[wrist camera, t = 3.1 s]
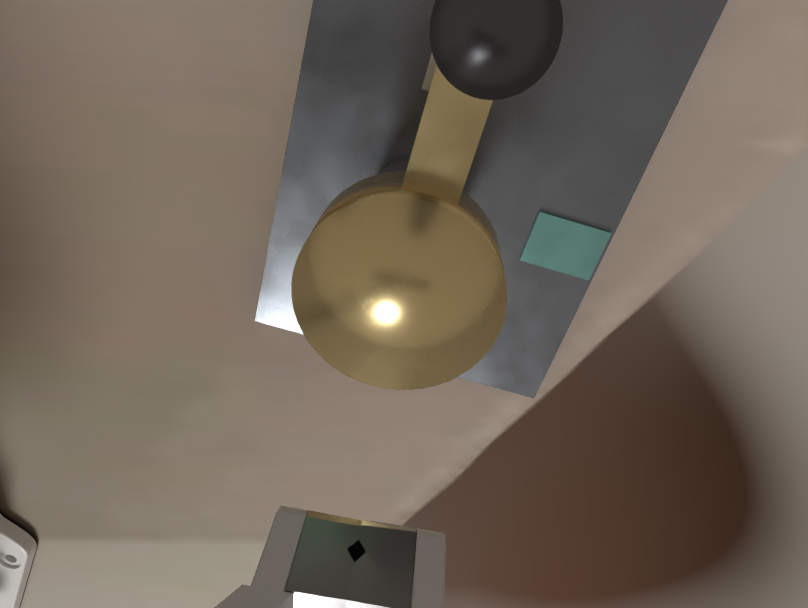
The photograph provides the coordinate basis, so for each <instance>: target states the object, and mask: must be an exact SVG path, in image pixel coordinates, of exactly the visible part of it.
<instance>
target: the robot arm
mask: <svg viewBox="0 0 808 608" xmlns="http://www.w3.org/2000/svg"><path fill="white" fill-rule="evenodd" d="M445 539H446V538H445V535H444V533H441V532H435V531H429V530H422V529H416V528H413V527H407V526H400V525H393V524H387V523H380V522H374V521H367V520H362V521H361V520H356V519H351V518H346V517H340V516H335V515H330V514H325V513H320V512H314V511H308V510H303V509H297V508H292V507H286V506H281V507H280V508H279V510H278V511H277V513H276V516H275V518H274V521H273V524H272V527H271V530H270V533H269V536H268V538H267V541H266V544H265V547H264V550H263V553H262V555H261V558H260V561H259V564H258V567H257V570H256V573H255V575H254V578H253V581H252V584H251V586H247V585H242V586H240V587H239V588H238V589H237V590H235V591H234V592H233V593H232V594H231V595H229V596H228V597H227V598H226V599H225V600H223V601H222V602H221V603H220V604H219V605H217V606H216V607H215V608H444V588H445V586H444V585H445V544H446V543H445V542H446V540H445ZM36 548H37V545H36V542H35V540H34V539H33V538H32V537H31V536H30V535H29V534H28V533H27V532H25V531H24V530H23V529H21V528H20V527H18V526H17V525H15V524H14V523H12V522H11V521H9V520H7V519H6V518H4V517H3V516H2V515H1V514H0V608H19V607H20V603H21V600H22V596H23V593H24V589H25V586H26V583H27V579H28V576H29V572H30V569H31V565H32V562H33V558H34V555H35V551H36Z"/></svg>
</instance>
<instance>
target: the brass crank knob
mask: <svg viewBox="0 0 808 608" xmlns="http://www.w3.org/2000/svg"><path fill="white" fill-rule="evenodd" d="M562 33H563V12H562V6H561V2H560V0H436V1H435V4H434V7H433V10H432V14H431V18H430V27H429V37H430V45H431V50H432V54H433V57H434V60H435V62H436V64H437V65H436V68H435V72H434V75H433V79H432V82H431V86H430V89H429V93H428V96H427V100H426V103H425V107H424V110H423V114H422V117H421V121H420V124H419V128H418V131H417V135H416V138H415V142H414V145H413V149H412V152H411V156H410V159H409V163H408V166H407V170H406V171H405V172H389V173H383V174H378V175H375V176H371V177H368V178H365V179H363V180H361V181H359V182H357V183H354V184H353V185H351V186H350V187H348V188H347V189H345V190H344V191H342V192H341V193H340V194H339V195H338V196H337V197H335V198H334V199H333V201H332V202H331V203H330V204H329V205H328V206H327V207H326V209H325V210H324V212H323V214H322V215H321V217H320V218H319V220H318V222H317V223H316V225H315V227H314V228H313V230H312V232H311V233H310V235H309V237H308V238H307V240H306V242H305V243H304V245H303V247H302V249H301V251H300V253H299V255H298V257H297V259H296V263H295V266H294V270H293V275H292V283H291V297H292V303H293V309H294V313H295V316H296V319H297V322H298V324H299V326H300V328H301V331H302V333H303V334H304V336H305V337H306V339H307V341H308V342H309V344H310V345H311V346H312V347H313V349H314V350H315V351H316V352H317V353H318V354H319V355H320V356H321V357H322V358H323V359H324V360H325V361H326V362H327V363H329V364H330V365H331V366H333V367H334V368H335V369H337V370H338V371H340V372H342V373H343V374H345V375H347V376H348V377H351V378H353V379H355V380H357V381H359V382H362V383H365V384H368V385H371V386H376V387H381V388H386V389H395V390H413V389H422V388H427V387H432V386H436V385H439V384H442V383H445V382H448V381H450V380H452V379H454V378H456V377H458V376H460V375H462V374H463V373H465V372H466V371H468V370H469V369H471V368H472V367H473V366H474V365H476V364H477V363H478V362H479V361H480V360H481V359H482V358H483V357H484V356H485V355H486V354H487V353H488V351H489V350H490V348H491V347H492V346H493V344H494V343H495V341H496V339H497V337H498V335H499V333H500V331H501V329H502V326H503V323H504V320H505V315H506V309H507V286H506V279H505V273H504V268H503V262H502V256H501V251H500V246H499V242H498V238H497V235H496V232H495V230H494V228H493V225H492V223H491V222H490V220H489V218H488V217H487V215H486V214H485V212H484V211H483V210H482V209H481V207H480V206H479V205H478V204H477V203H476V202H475V201H474V200H473V199H472V198H471V197H470V196H469V195H468V194H466V193H465V192H464V191H462V190H463V187H464V185H465V182H466V179H467V176H468V173H469V170H470V167H471V164H472V161H473V158H474V155H475V152H476V149H477V146H478V143H479V140H480V137H481V134H482V131H483V128H484V126H485V123H486V120H487V117H488V114H489V111H490V108H491V105H492V102H493V100H500V99H505V98H509V97H512V96H515V95H517V94H520V93H522V92H524V91H525V90H527V89H528V88H530V87H531V86H532V85H534V84H535V83H536V82H537V81H538V80H539V79H540V78H541V77H542V76H543V75H544V74H545V73H546V71H547V70H548V69H549V67H550V66H551V64H552V62H553V60H554V59H555V56H556V54H557V52H558V49H559V46H560V43H561V38H562Z"/></svg>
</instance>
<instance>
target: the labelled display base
mask: <svg viewBox="0 0 808 608" xmlns="http://www.w3.org/2000/svg"><path fill="white" fill-rule="evenodd" d="M435 1H436V0H313V5H312V10H311V16H310V21H309V27H308V32H307V38H306V43H305V49H304V54H303V60H302V65H301V71H300V76H299V82H298V87H297V93H296V98H295V104H294V109H293V115H292V120H291V126H290V131H289V137H288V142H287V148H286V153H285V159H284V164H283V170H282V175H281V181H280V186H279V192H278V197H277V203H276V208H275V214H274V219H273V225H272V230H271V235H270V241H269V246H268V252H267V257H266V263H265V268H264V274H263V279H262V285H261V290H260V296H259V301H258V307H257V312H256V318H255V321H257V322H261V323H264V324H268V325H272V326H275V327H279V328H282V329H286V330H290V331H293V332H297V333H300V334H303V333H302V331H301V328H300V326H299V324H298V322H297V319H296V316H295V313H294V309H293V303H292V297H291V283H292V275H293V270H294V266H295V263H296V259H297V257H298V255H299V253H300V251H301V249H302V247H303V245H304V243H305V242H306V240H307V238H308V237H309V235H310V233H311V232H312V230H313V228H314V227H315V225H316V223H317V222H318V220H319V218H320V217H321V215H322V214H323V212H324V210H325V209H326V207H327V206H328V205H329V204H330V203H331V202H332V201H333V199H334V198H335V197H337V196H338V195H339V194H340V193H341V192H342V191H344V190H345V189H347V188H348V187H350V186H351V185H353V184H354V183H357V182H359V181H361V180H363V179H365V178H368V177H371V176H375V175H378V174H383V173H389V172H405V171H406V170H407V166H408V163H409V159H410V156H411V152H412V149H413V145H414V142H415V138H416V135H417V131H418V128H419V124H420V121H421V117H422V114H423V110H424V107H425V103H426V100H427V96H428V93H429V89H430V86H431V82H432V79H433V75H434V72H435V68H436V65H437V64H436V62H435V60H434V57H433V54H432V50H431V45H430V37H429V27H430V18H431V14H432V10H433V7H434V4H435ZM727 1H728V0H560V2H561V6H562V12H563V33H562V38H561V43H560V46H559V49H558V52H557V54H556V56H555V59H554V60H553V62H552V64H551V66H550V67H549V69H548V70H547V71H546V73H545V74H544V75H543V76H542V77H541V78H540V79H539V80H538V81H537V82H536V83H535V84H534V85H532V86H531V87H530V88H528V89H527V90H525V91H524V92H522V93H520V94H517V95H515V96H512V97H509V98H505V99H500V100H493V102H492V105H491V108H490V111H489V114H488V117H487V120H486V123H485V126H484V128H483V131H482V134H481V137H480V140H479V143H478V146H477V149H476V152H475V155H474V158H473V161H472V164H471V167H470V170H469V173H468V176H467V179H466V182H465V185H464V187H463V190H462V191H464V192H465V193H466V194H468V195H469V196H470V197H471V198H472V199H473V200H474V201H475V202H476V203H477V204H478V205H479V206H480V207H481V209H482V210H483V211H484V212H485V214H486V215H487V217H488V218H489V220H490V222H491V223H492V225H493V228H494V230H495V232H496V235H497V238H498V242H499V246H500V251H501V256H502V262H503V268H504V273H505V279H506V286H507V309H506V315H505V320H504V323H503V326H502V329H501V331H500V333H499V335H498V337H497V339H496V341H495V343H494V344H493V346H492V347H491V348H490V350H489V351H488V353H487V354H486V355H485V356H484V357H483V358H482V359H481V360H480V361H479V362H478V363H477V364H476V365H474V366H473V367H472V368H471V369H469V370H468V371H466V372H465V373H463V374H462V375H460V376H458V377H459V378H463V379H466V380H470V381H473V382H477V383H481V384H484V385H488V386H491V387H495V388H499V389H502V390H506V391H509V392H513V393H517V394H520V395H524V396H527V397H531V398H535V396H536V393H537V391H538V389H539V387H540V385H541V383H542V381H543V379H544V377H545V375H546V373H547V371H548V369H549V367H550V365H551V363H552V361H553V359H554V356H555V354H556V352H557V350H558V348H559V346H560V344H561V342H562V340H563V338H564V336H565V334H566V332H567V330H568V328H569V326H570V324H571V322H572V319H573V317H574V315H575V313H576V311H577V309H578V307H579V305H580V303H581V301H582V299H583V297H584V295H585V293H586V291H587V289H588V287H589V285H590V282H591V280H592V278H593V276H594V274H595V272H596V270H597V268H598V266H599V264H600V262H601V260H602V258H603V256H604V254H605V252H606V250H607V248H608V245H609V243H610V241H611V239H612V237H613V235H614V233H615V231H616V229H617V227H618V225H619V223H620V221H621V219H622V217H623V215H624V213H625V211H626V208H627V206H628V204H629V202H630V200H631V198H632V196H633V194H634V192H635V190H636V188H637V186H638V184H639V182H640V180H641V178H642V176H643V174H644V171H645V169H646V167H647V165H648V163H649V161H650V159H651V157H652V155H653V153H654V151H655V149H656V147H657V145H658V143H659V141H660V139H661V137H662V134H663V132H664V130H665V128H666V126H667V124H668V122H669V120H670V118H671V116H672V114H673V112H674V110H675V108H676V106H677V104H678V102H679V100H680V97H681V95H682V93H683V91H684V89H685V87H686V85H687V83H688V81H689V79H690V77H691V75H692V73H693V71H694V69H695V67H696V65H697V62H698V60H699V58H700V56H701V54H702V52H703V50H704V48H705V46H706V44H707V42H708V40H709V38H710V36H711V34H712V32H713V30H714V28H715V25H716V23H717V21H718V19H719V17H720V15H721V13H722V11H723V9H724V7H725V5H726V3H727Z"/></svg>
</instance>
